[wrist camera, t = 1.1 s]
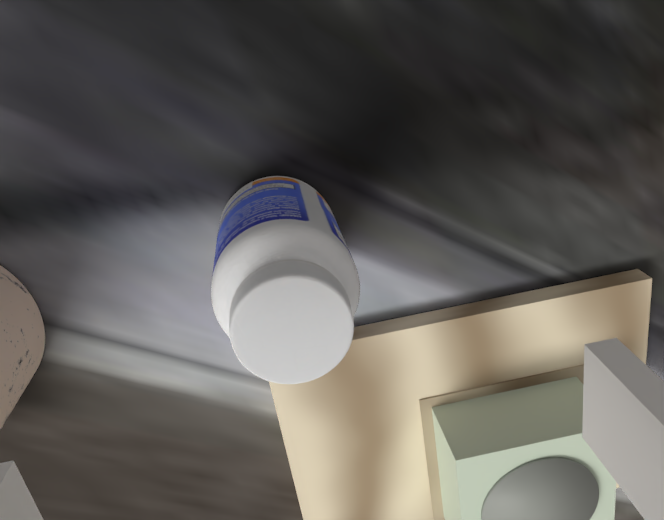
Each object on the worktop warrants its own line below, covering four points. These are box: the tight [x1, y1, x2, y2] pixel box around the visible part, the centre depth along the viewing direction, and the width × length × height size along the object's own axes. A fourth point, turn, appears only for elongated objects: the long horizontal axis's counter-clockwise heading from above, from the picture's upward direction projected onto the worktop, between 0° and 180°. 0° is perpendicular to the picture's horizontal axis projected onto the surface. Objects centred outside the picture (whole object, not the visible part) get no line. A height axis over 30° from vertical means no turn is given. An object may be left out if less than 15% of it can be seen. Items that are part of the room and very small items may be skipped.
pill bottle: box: [211, 176, 360, 384], centre depth 23 cm, size 5×5×10 cm
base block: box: [432, 377, 616, 520], centre depth 30 cm, size 8×8×4 cm
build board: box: [269, 269, 652, 520], centre depth 32 cm, size 20×14×1 cm
